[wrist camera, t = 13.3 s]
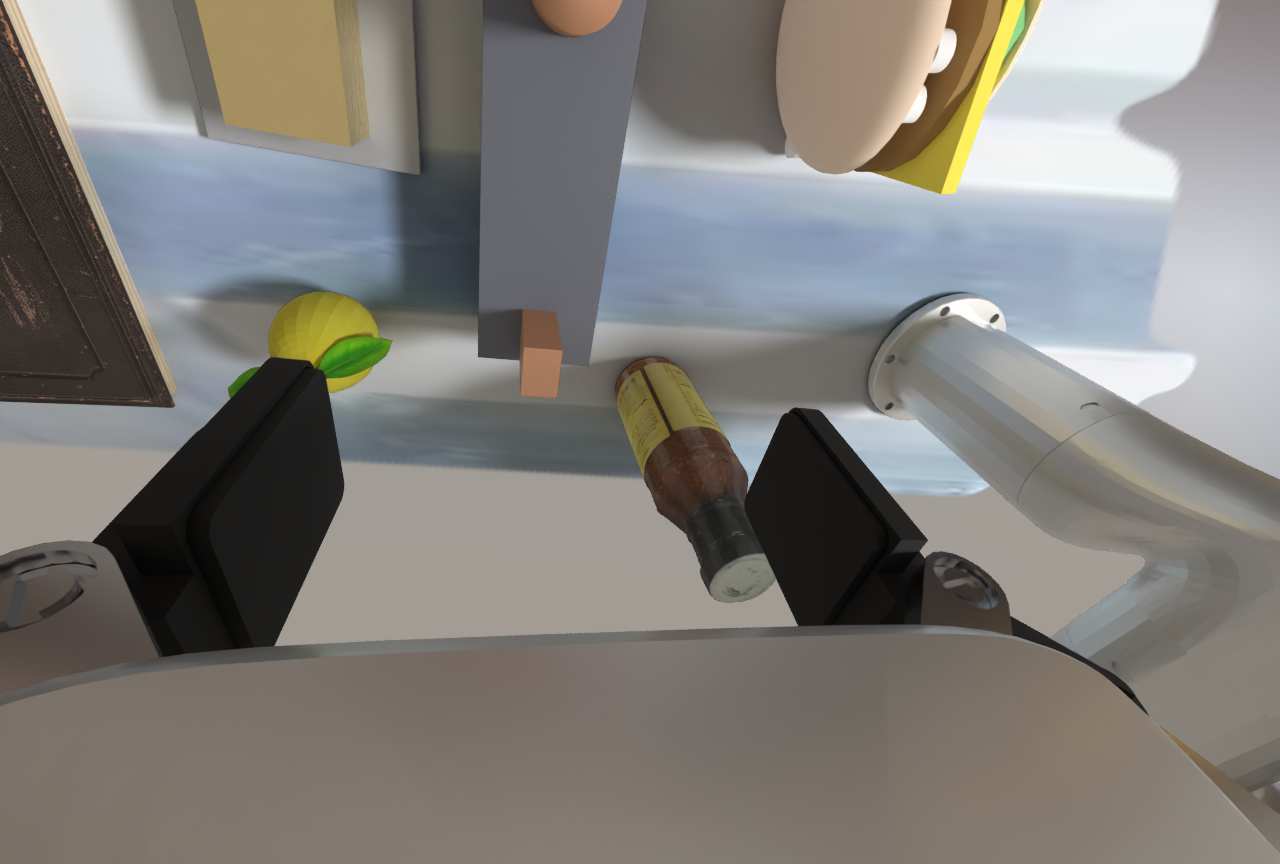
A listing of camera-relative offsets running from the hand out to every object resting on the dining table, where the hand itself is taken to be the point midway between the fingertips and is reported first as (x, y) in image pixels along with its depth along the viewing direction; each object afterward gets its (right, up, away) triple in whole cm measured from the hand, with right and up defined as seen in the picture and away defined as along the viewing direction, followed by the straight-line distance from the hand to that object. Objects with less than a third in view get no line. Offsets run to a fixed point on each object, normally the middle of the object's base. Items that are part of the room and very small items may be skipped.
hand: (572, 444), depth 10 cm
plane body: (-4, +16, +19) cm, 25 cm away
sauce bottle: (+2, +4, +30) cm, 31 cm away
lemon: (-18, +8, +22) cm, 30 cm away
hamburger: (+12, +23, +18) cm, 32 cm away
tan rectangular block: (-15, +19, +13) cm, 28 cm away
